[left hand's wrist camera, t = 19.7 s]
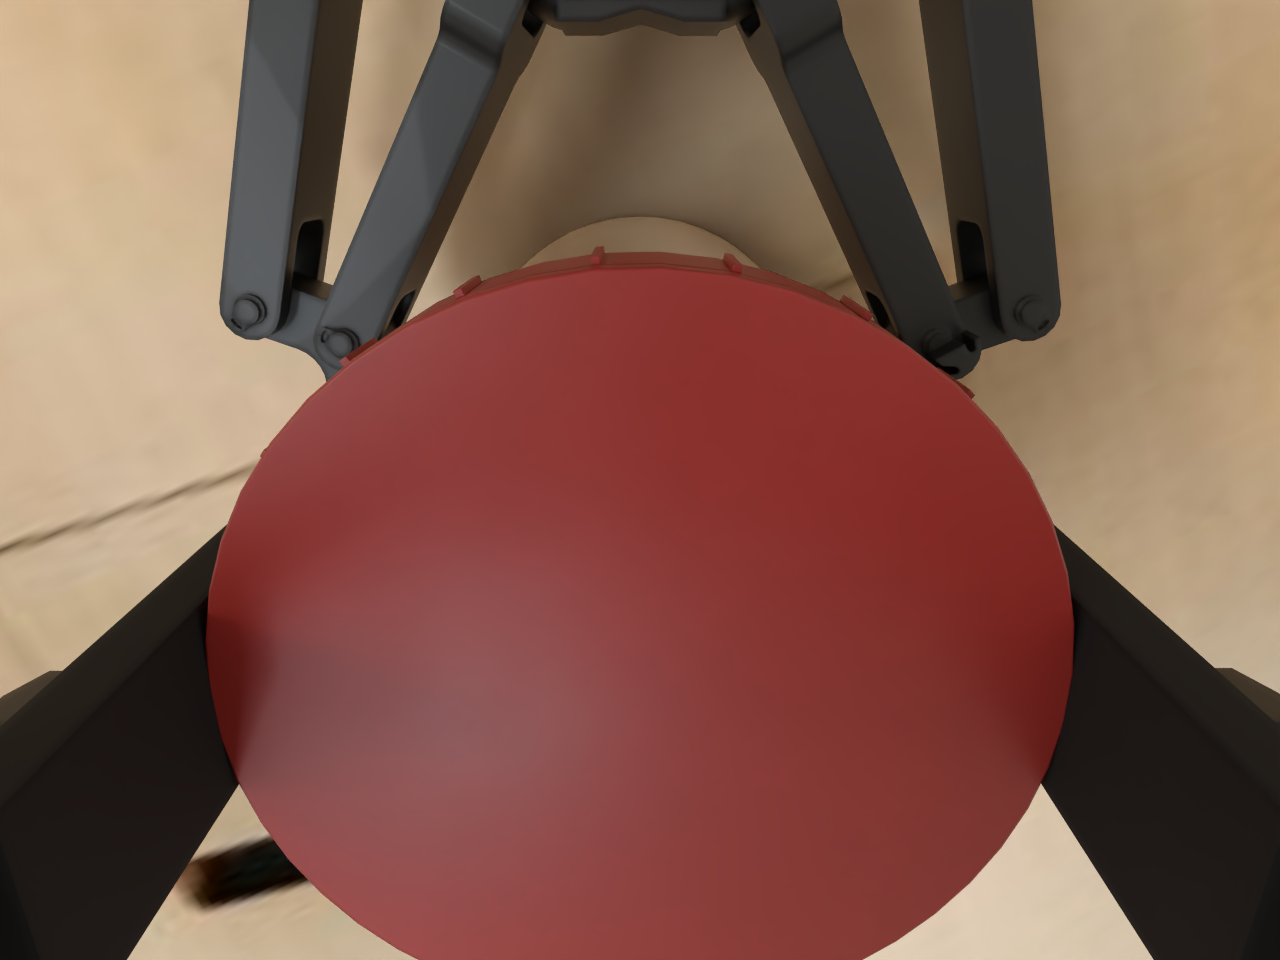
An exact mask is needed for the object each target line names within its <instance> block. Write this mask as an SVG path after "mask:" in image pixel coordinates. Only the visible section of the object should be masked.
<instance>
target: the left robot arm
mask: <svg viewBox="0 0 1280 960" xmlns="http://www.w3.org/2000/svg"><path fill="white" fill-rule="evenodd" d="M1053 525H1054V524H1053ZM226 526H227V525H226ZM226 526H225V527H224V528H223V529H221V530H220V531H219V532H218V533H217V534H216V535H215V536H214V537H212V538H211V539H210V540H209V541H208V542H207V543H206V544H205V545H203V546H202V547H201V548H200V549H199V550H198V551H197V552H196V553H194V554H193V555H192V556H191V557H190V558H189V559H188V560H187V561H186V562H184V563H183V564H182V565H181V566H180V567H179V568H178V569H177V570H175V571H174V572H173V573H172V574H171V575H170V576H169V577H168V578H166V579H165V580H164V581H163V582H162V583H161V584H160V585H159V586H157V587H156V588H155V589H154V590H153V591H152V592H151V593H150V594H148V595H147V596H146V597H145V598H144V599H143V600H142V601H141V602H140V603H138V604H137V605H136V606H135V607H134V608H133V609H132V610H131V611H129V612H128V613H127V614H126V615H125V616H124V617H123V618H122V619H120V620H119V621H118V622H117V623H116V624H115V625H114V626H113V627H111V628H110V629H109V630H108V631H107V632H106V633H105V634H104V635H102V636H101V637H100V638H99V639H98V640H97V641H96V642H95V643H93V644H92V645H91V646H90V647H89V648H88V649H87V650H86V651H85V652H83V653H82V654H81V655H80V656H79V657H78V658H77V659H76V660H74V661H73V662H72V663H71V664H70V665H69V666H68V667H67V668H65V669H64V670H63V671H49V672H47V673H45V674H43V675H41V676H39V677H38V678H36V679H34V680H32V681H30V682H28V683H26V684H25V685H23V686H21V687H19V688H17V689H15V690H13V691H12V692H10V693H8V694H6V695H4V696H3V697H1V698H0V960H127V959H128V957H129V955H130V954H131V952H132V951H133V949H134V948H135V946H136V945H137V943H138V941H139V940H140V938H141V937H142V935H143V934H144V932H145V930H146V929H147V927H148V926H149V924H150V923H151V921H152V919H153V918H154V916H155V915H156V913H157V912H158V910H159V909H160V907H161V905H162V904H163V902H164V901H165V899H166V898H167V896H168V894H169V893H170V891H171V890H172V888H173V887H174V885H175V883H176V882H177V880H178V879H179V877H180V876H181V874H182V873H183V871H184V869H185V868H186V866H187V865H188V863H189V862H190V860H191V858H192V857H193V855H194V854H195V852H196V851H197V849H198V847H199V846H200V844H201V843H202V841H203V840H204V838H205V837H206V835H207V833H208V832H209V830H210V829H211V827H212V826H213V824H214V822H215V821H216V819H217V818H218V816H219V815H220V813H221V811H222V810H223V808H224V807H225V805H226V804H227V802H228V801H229V799H230V797H231V796H232V794H233V793H234V791H235V790H236V788H237V786H238V785H239V783H238V781H237V778H236V775H235V773H234V770H233V768H232V765H231V763H230V760H229V758H228V755H227V753H226V750H225V748H224V745H223V742H222V739H221V734H220V729H219V725H218V720H217V715H216V711H215V706H214V701H213V697H212V692H211V687H210V681H209V676H208V669H207V656H206V644H205V639H206V625H207V611H208V598H209V588H210V584H211V580H212V576H213V571H214V567H215V563H216V559H217V554H218V550H219V546H220V542H221V539H222V536H223V534H224V531H225V529H226ZM1054 528H1055V531H1056V535H1057V538H1058V541H1059V545H1060V548H1061V552H1062V555H1063V558H1064V562H1065V565H1066V568H1067V572H1068V578H1069V586H1070V594H1071V601H1072V609H1073V617H1074V659H1073V676H1072V681H1071V686H1070V691H1069V696H1068V700H1067V705H1066V710H1065V715H1064V720H1063V725H1062V729H1061V733H1060V736H1059V739H1058V742H1057V745H1056V748H1055V751H1054V754H1053V757H1052V760H1051V763H1050V766H1049V768H1048V770H1047V772H1046V774H1045V776H1044V778H1043V780H1042V782H1041V784H1042V786H1043V787H1044V789H1045V790H1046V792H1047V793H1048V795H1049V797H1050V798H1051V800H1052V801H1053V803H1054V804H1055V806H1056V807H1057V809H1058V811H1059V812H1060V814H1061V815H1062V817H1063V818H1064V820H1065V822H1066V823H1067V825H1068V826H1069V828H1070V829H1071V831H1072V833H1073V834H1074V836H1075V837H1076V839H1077V840H1078V842H1079V843H1080V845H1081V847H1082V848H1083V850H1084V851H1085V853H1086V854H1087V856H1088V858H1089V859H1090V861H1091V862H1092V864H1093V865H1094V867H1095V869H1096V870H1097V872H1098V873H1099V875H1100V876H1101V878H1102V879H1103V881H1104V883H1105V884H1106V886H1107V887H1108V889H1109V890H1110V892H1111V894H1112V895H1113V897H1114V898H1115V900H1116V901H1117V903H1118V905H1119V906H1120V908H1121V909H1122V911H1123V912H1124V914H1125V915H1126V917H1127V919H1128V920H1129V922H1130V923H1131V925H1132V926H1133V928H1134V930H1135V931H1136V933H1137V934H1138V936H1139V937H1140V939H1141V941H1142V942H1143V944H1144V945H1145V947H1146V948H1147V950H1148V951H1149V953H1150V955H1151V956H1152V958H1153V959H1154V960H1280V694H1279V693H1277V692H1275V691H1274V690H1272V689H1270V688H1268V687H1266V686H1264V685H1262V684H1261V683H1259V682H1257V681H1255V680H1253V679H1251V678H1249V677H1247V676H1246V675H1244V674H1242V673H1240V672H1238V671H1236V670H1234V669H1232V668H1214V667H1213V666H1212V665H1211V664H1210V663H1208V662H1207V661H1206V660H1205V659H1204V658H1203V657H1202V656H1201V655H1199V654H1198V653H1197V652H1196V651H1195V650H1194V649H1193V648H1192V647H1190V646H1189V645H1188V644H1187V643H1186V642H1185V641H1184V640H1183V639H1182V638H1180V637H1179V636H1178V635H1177V634H1176V633H1175V632H1174V631H1173V630H1171V629H1170V628H1169V627H1168V626H1167V625H1166V624H1165V623H1164V622H1162V621H1161V620H1160V619H1159V618H1158V617H1157V616H1156V615H1155V614H1153V613H1152V612H1151V611H1150V610H1149V609H1148V608H1147V607H1146V606H1144V605H1143V604H1142V603H1141V602H1140V601H1139V600H1138V599H1137V598H1135V597H1134V596H1133V595H1132V594H1131V593H1130V592H1129V591H1128V590H1127V589H1125V588H1124V587H1123V586H1122V585H1121V584H1120V583H1119V582H1118V581H1116V580H1115V579H1114V578H1113V577H1112V576H1111V575H1110V574H1109V573H1107V572H1106V571H1105V570H1104V569H1103V568H1102V567H1101V566H1100V565H1098V564H1097V563H1096V562H1095V561H1094V560H1093V559H1092V558H1091V557H1089V556H1088V555H1087V554H1086V553H1085V552H1084V551H1083V550H1082V549H1080V548H1079V547H1078V546H1077V545H1076V544H1075V543H1074V542H1073V541H1071V540H1070V539H1069V538H1068V537H1067V536H1066V535H1065V534H1064V533H1063V532H1061V531H1060V530H1059V529H1058V528H1057V527H1056V526H1055V525H1054Z"/></svg>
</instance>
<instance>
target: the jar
mask: <svg viewBox="0 0 1280 960" xmlns="http://www.w3.org/2000/svg"><path fill="white" fill-rule="evenodd" d="M598 246H604V251H605V253H617V252H658V251H659V252H668V253H677V254H686V255H695V256H704V257H713V258H719V259H723V257H724V253H729V254H733V255H734V256H735V257H736V258H737V259H738V261H739V262H740V263H741V264H743V265H747V266H751V267H755V268H759V267H758V266H757V265H756V264H755V263H754V262H753V261H751V260H750V259H749V258H748V257H747V256H746V255H745V254H744V253H742V252H741V251H740V250H739V249H737V248H736V247H734V246H733V245H731V244H730V243H728V242H727V241H725V240H724V239H722V238H721V237H719V236H717V235H715V234H712V233H710V232H708V231H706V230H704V229H702V228H699V227H696V226H693V225H690V224H687V223H684V222H681V221H676V220H670V219H665V218H659V217H638V216H635V217H624V218H614V219H609V220H605V221H601V222H597V223H593V224H590V225H587V226H585V227H582V228H579V229H577V230H574V231H572V232H570V233H568V234H566V235H564V236H562V237H561V238H559V239H557V240H555V241H553V242H552V243H550V244H549V245H548V246H546V247H545V248H544V249H542V250H541V251H540V252H538V253H537V254H536V255H534V256H533V257H532V258H531V259H530V260H529V261H528V262H527V263H526V264H525V265H524V266H522V267H521V268H520V269H522V268H525V267H529V266H532V265H535V264H538V263H542V262H547V261H553V260H559V259H565V258H572V257H578V256H584V255H590V254H592V252H593V250H594V248H595V247H598ZM759 269H760V268H759Z"/></svg>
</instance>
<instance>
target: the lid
mask: <svg viewBox="0 0 1280 960" xmlns="http://www.w3.org/2000/svg"><path fill="white" fill-rule="evenodd" d="M453 293H454V295H452V296H450V297H448V298H446V299H443V300H441V301H439V302H437V303H435V304H434V305H432V306H431V307H429V308H428V309H426V310H425V311H423V312H422V313H420V314H418V315H417V316H415V317H414V318H412V319H411V320H409V321H408V322H406V323H405V324H403V325H401V326H400V327H398V328H397V329H395V330H394V331H392V332H391V333H389V334H388V335H386V336H385V337H384V338H382V339H381V340H379V341H377V340H376V339H375V338H372V339H370V340H369V341H367V342H366V343H364V344H363V345H362V346H360V347H359V348H357V349H356V350H354V351H353V352H351V353H350V354H348V355H347V356H345V357H344V358H343V359H342V360H340V363H341V364H342V366H343V368H342V369H341V370H340V371H339V372H337V373H336V374H335V375H334V376H333V377H332V378H331V379H330V380H328V381H327V382H326V383H325V384H324V385H323V386H322V387H320V388H319V389H318V390H317V391H316V392H315V393H314V394H312V395H311V396H310V397H309V398H308V399H307V400H306V401H305V402H304V403H303V405H302V406H301V407H300V408H299V409H298V411H297V412H296V413H295V414H294V415H293V417H292V418H291V419H290V420H289V421H288V422H287V424H286V425H285V426H284V427H283V428H282V430H281V431H280V432H279V433H278V434H277V435H276V437H275V438H274V439H273V440H272V441H271V443H270V444H269V446H268V447H267V448H266V449H264V450H263V452H262V454H261V455H260V457H261V459H260V460H259V462H258V464H257V465H256V467H255V469H254V470H253V472H252V474H251V475H250V477H249V479H248V480H247V482H246V483H245V485H244V487H243V488H242V490H241V492H240V495H239V497H238V500H237V502H236V504H235V507H234V509H233V512H232V514H231V517H230V519H229V521H228V524H227V526H226V529H225V531H224V534H223V536H222V539H221V542H220V546H219V550H218V554H217V559H216V563H215V567H214V571H213V576H212V580H211V584H210V588H209V598H208V611H207V625H206V639H205V644H206V656H207V669H208V676H209V681H210V687H211V692H212V697H213V701H214V706H215V711H216V715H217V720H218V725H219V729H220V734H221V739H222V742H223V745H224V748H225V750H226V753H227V755H228V758H229V760H230V763H231V765H232V768H233V770H234V773H235V775H236V778H237V781H238V783H239V784H240V786H241V788H242V790H243V791H244V793H245V795H246V797H247V798H248V800H249V802H250V804H251V806H252V807H253V809H254V811H255V813H256V814H257V816H258V818H259V820H260V821H261V823H262V824H263V826H264V827H265V828H266V830H267V831H268V832H269V834H270V835H271V836H272V838H273V839H274V840H275V842H276V843H277V844H278V846H279V847H280V848H281V850H282V851H283V852H284V854H285V855H286V856H287V858H288V859H289V860H290V861H291V862H292V863H293V864H294V865H295V866H296V867H297V869H298V870H299V871H300V872H301V873H302V874H303V875H304V876H305V877H306V878H307V879H308V880H309V881H310V882H311V883H312V884H313V885H314V886H315V887H316V888H317V889H318V890H319V891H320V892H321V893H322V894H323V895H324V896H325V897H326V898H328V899H329V900H330V901H331V902H333V903H334V904H335V905H336V906H337V907H339V908H340V909H341V910H342V911H344V912H345V913H346V914H347V915H348V916H350V917H351V918H352V919H353V920H355V921H356V922H357V923H358V924H360V925H361V926H363V927H364V928H366V929H367V930H369V931H370V932H372V933H374V934H375V935H377V936H378V937H380V938H381V939H383V940H384V941H386V942H387V943H389V944H391V945H392V946H394V947H395V948H397V949H398V950H400V951H402V952H404V953H406V954H408V955H410V956H412V957H414V958H416V959H418V960H863V959H865V958H867V957H869V956H870V955H872V954H874V953H876V952H878V951H879V950H881V949H883V948H885V947H887V946H888V945H890V944H892V943H894V942H896V941H897V940H899V939H900V938H902V937H903V936H904V935H906V934H907V933H909V932H910V931H911V930H913V929H914V928H916V927H917V926H919V925H920V924H921V923H923V922H924V921H926V920H927V919H929V918H930V917H931V916H933V915H934V914H935V913H937V912H938V911H939V910H940V909H941V908H942V907H943V906H945V905H946V904H947V903H948V902H949V901H950V900H951V899H952V898H954V897H955V896H956V895H957V894H958V893H959V892H960V891H961V890H963V889H964V888H965V887H966V886H967V885H968V884H969V883H970V882H971V881H972V880H973V879H974V878H975V877H976V876H977V874H978V873H979V872H980V871H981V870H982V869H983V868H984V867H985V865H986V864H987V863H988V862H989V861H990V860H991V859H992V858H993V856H994V855H995V854H996V853H997V852H998V851H999V850H1000V849H1001V847H1002V846H1003V844H1004V843H1005V841H1006V840H1007V839H1008V837H1009V836H1010V834H1011V833H1012V831H1013V830H1014V828H1015V827H1016V825H1017V824H1018V822H1019V821H1020V820H1021V818H1022V817H1023V815H1024V814H1025V812H1026V811H1027V809H1028V808H1029V806H1030V804H1031V802H1032V800H1033V798H1034V796H1035V794H1036V792H1037V790H1038V788H1039V786H1040V784H1041V782H1042V780H1043V778H1044V776H1045V774H1046V772H1047V770H1048V768H1049V766H1050V763H1051V760H1052V757H1053V754H1054V751H1055V748H1056V745H1057V742H1058V739H1059V736H1060V733H1061V729H1062V725H1063V720H1064V715H1065V710H1066V705H1067V700H1068V696H1069V691H1070V686H1071V681H1072V676H1073V659H1074V617H1073V609H1072V601H1071V594H1070V586H1069V578H1068V572H1067V568H1066V565H1065V562H1064V558H1063V555H1062V552H1061V548H1060V545H1059V541H1058V538H1057V535H1056V531H1055V528H1054V525H1053V522H1052V520H1051V517H1050V515H1049V513H1048V511H1047V509H1046V507H1045V505H1044V503H1043V501H1042V499H1041V497H1040V495H1039V492H1038V490H1037V488H1036V486H1035V484H1034V482H1033V480H1032V478H1031V476H1030V474H1029V472H1028V471H1027V469H1026V468H1025V466H1024V465H1023V463H1022V462H1021V461H1020V459H1019V458H1018V456H1017V455H1016V453H1015V452H1014V450H1013V449H1012V447H1011V446H1010V445H1009V443H1008V442H1007V440H1006V439H1005V437H1004V436H1003V434H1002V433H1001V431H1000V430H999V429H998V427H997V426H996V425H995V424H994V423H993V422H992V421H991V420H990V419H989V418H988V416H987V415H986V414H985V413H984V412H983V411H982V410H981V409H980V408H979V407H978V406H977V405H976V404H975V403H974V402H973V401H972V398H973V397H974V396H975V395H974V393H973V392H972V391H971V390H970V389H968V388H967V387H966V386H964V385H963V384H961V383H960V382H958V381H957V380H956V379H954V378H953V377H951V376H950V375H949V374H947V373H946V372H944V371H943V370H941V369H940V368H936V367H935V366H933V365H932V364H931V363H930V362H928V361H927V360H926V359H924V358H923V357H922V356H921V355H919V354H918V353H917V352H916V351H914V350H913V349H912V348H910V347H909V346H908V345H906V344H905V343H904V342H902V341H901V340H899V339H898V338H896V337H895V336H894V335H892V334H891V333H889V332H888V331H887V330H885V329H884V328H882V327H881V326H879V325H878V324H877V323H875V322H874V321H872V320H871V318H872V316H873V314H872V313H871V312H869V311H868V310H866V309H865V308H863V307H862V306H860V305H859V304H857V303H856V302H854V301H853V300H851V299H850V298H848V297H846V296H843V297H842V298H841V300H840V302H839V301H838V300H836V299H834V298H832V297H831V296H829V295H827V294H826V293H823V292H821V291H818V290H816V289H813V288H811V287H808V286H806V285H804V284H801V283H799V282H796V281H794V280H791V279H789V278H786V277H784V276H781V275H779V274H776V273H774V272H771V271H767V270H763V269H759V268H755V267H751V266H747V265H743V264H741V263H740V262H739V261H738V259H737V258H736V257H735V256H734V255H733V254H729V253H724V257H723V259H719V258H713V257H704V256H695V255H686V254H677V253H668V252H659V251H658V252H617V253H605V251H604V246H598V247H595V248H594V250H593V252H592V254H590V255H584V256H578V257H572V258H565V259H559V260H553V261H547V262H542V263H538V264H535V265H532V266H529V267H525V268H522V269H519V270H515V271H512V272H509V273H506V274H502V275H499V276H496V277H492V278H489V279H487V280H484V281H482V280H481V278H480V276H479V275H478V276H476V277H473V278H471V279H470V280H468V281H467V282H466V283H464V284H463V285H461V286H460V287H459V288H457V289H456V290H454V291H453Z"/></svg>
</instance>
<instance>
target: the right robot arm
mask: <svg viewBox="0 0 1280 960" xmlns="http://www.w3.org/2000/svg"><path fill="white" fill-rule="evenodd" d="M362 2H363V0H249V10H248V20H247V30H246V40H245V50H244V60H243V71H242V81H241V91H240V101H239V111H238V121H237V131H236V141H235V151H234V161H233V171H232V181H231V191H230V201H229V211H228V221H227V231H226V241H225V251H224V261H223V271H222V282H221V292H220V302H219V304H220V314H221V316H222V318H223V320H224V322H225V324H226V326H227V327H228V328H229V329H230V330H231V331H232V332H233V333H234V334H236V335H238V336H240V337H242V338H244V339H249V340H259V339H262V338H268V339H271V340H273V341H276V342H279V343H282V344H285V345H288V346H291V347H294V348H297V349H299V350H301V351H303V352H305V353H307V354H308V355H310V356H311V357H312V358H313V359H315V361H316V362H317V363H318V364H319V365H320V367H321V369H322V370H323V372H324V374H325V378H326V382H327V381H328V380H330V379H331V378H332V377H333V376H334V375H335V374H336V373H337V372H339V371H340V370H341V369H342V368H343V366H342V364H341V363H340V360H342V359H343V358H344V357H345V356H347V355H348V354H350V353H351V352H353V351H354V350H356V349H357V348H359V347H360V346H362V345H363V344H364V343H366V342H367V341H369V340H370V339H372V338H375V339H376V340H377V341H379V340H381V339H382V338H384V337H385V336H386V335H388V334H389V333H391V332H392V331H394V330H395V329H397V328H398V327H400V326H401V325H403V324H405V323H406V321H407V319H408V316H409V314H410V312H411V310H412V308H413V305H414V303H415V301H416V299H417V297H418V295H419V292H420V290H421V288H422V286H423V284H424V281H425V279H426V277H427V275H428V273H429V271H430V268H431V266H432V264H433V262H434V260H435V257H436V255H437V253H438V251H439V249H440V246H441V244H442V242H443V240H444V238H445V236H446V233H447V231H448V229H449V227H450V225H451V222H452V220H453V218H454V216H455V214H456V212H457V209H458V207H459V205H460V203H461V201H462V198H463V196H464V194H465V192H466V190H467V188H468V185H469V183H470V181H471V179H472V177H473V174H474V172H475V170H476V168H477V166H478V164H479V161H480V159H481V157H482V155H483V153H484V150H485V148H486V146H487V144H488V142H489V139H490V137H491V135H492V133H493V131H494V129H495V126H496V124H497V122H498V120H499V118H500V115H501V113H502V111H503V109H504V107H505V105H506V102H507V100H508V98H509V96H510V94H511V91H512V89H513V87H514V85H515V83H516V81H517V79H518V78H519V76H520V75H521V74H522V72H523V71H524V70H525V68H526V66H527V64H528V63H529V61H530V59H531V57H532V54H533V52H534V50H535V48H536V46H537V44H538V41H539V39H540V37H541V35H542V33H543V31H544V28H545V26H546V24H548V25H550V26H552V27H554V28H558V29H561V30H563V32H564V34H565V35H566V36H603V35H607V34H610V33H613V32H617V31H620V30H623V29H627V28H630V27H633V26H637V25H646V26H649V27H652V28H656V29H659V30H662V31H666V32H669V33H672V34H676V35H679V36H717V35H718V33H719V31H720V30H723V29H726V28H729V27H731V26H733V25H735V24H736V26H737V28H738V30H739V32H740V35H741V37H742V39H743V41H744V43H745V46H746V48H747V50H748V52H749V54H750V56H751V59H752V61H753V63H754V65H755V66H756V68H757V70H758V71H759V73H760V74H761V75H762V77H763V78H764V80H765V81H766V83H767V85H768V87H769V89H770V92H771V94H772V96H773V98H774V101H775V103H776V105H777V107H778V109H779V112H780V114H781V116H782V118H783V120H784V123H785V125H786V127H787V129H788V131H789V134H790V136H791V138H792V140H793V142H794V145H795V147H796V149H797V151H798V153H799V156H800V158H801V160H802V162H803V164H804V167H805V169H806V171H807V173H808V176H809V178H810V180H811V182H812V184H813V187H814V189H815V191H816V193H817V195H818V198H819V200H820V202H821V204H822V206H823V209H824V211H825V213H826V215H827V217H828V220H829V222H830V224H831V226H832V228H833V231H834V233H835V235H836V237H837V240H838V242H839V244H840V246H841V248H842V251H843V253H844V255H845V257H846V259H847V262H848V264H849V266H850V268H851V270H852V273H853V275H854V277H855V279H856V281H857V284H858V286H859V288H860V290H861V292H862V295H863V297H864V299H865V301H866V303H867V306H868V308H869V310H870V312H871V313H872V314H873V316H872V317H873V319H874V321H875V323H877V324H878V325H879V326H881V327H882V328H884V329H885V330H887V331H888V332H889V333H891V334H892V335H894V336H895V337H896V338H898V339H899V340H901V341H902V342H904V343H905V344H906V345H908V346H909V347H910V348H912V349H913V350H914V351H916V352H917V353H918V354H919V355H921V356H922V357H923V358H924V359H926V360H927V361H928V362H930V363H931V364H932V365H933V366H935V367H936V368H940V369H941V370H943V371H944V372H946V373H947V374H949V375H950V376H951V377H953V378H954V379H956V380H957V379H960V378H963V377H964V376H966V375H967V374H968V373H970V372H971V371H972V370H973V369H974V367H975V366H976V364H977V363H978V361H979V359H980V355H981V350H984V349H987V348H990V347H992V346H995V345H998V344H1001V343H1004V342H1007V341H1010V340H1013V339H1018V340H1020V341H1034V340H1036V339H1038V338H1041V337H1043V336H1045V335H1046V334H1047V333H1048V332H1049V331H1050V330H1051V329H1052V328H1053V327H1054V326H1055V324H1056V322H1057V320H1058V318H1059V316H1060V308H1061V300H1060V290H1059V279H1058V269H1057V258H1056V248H1055V237H1054V227H1053V216H1052V206H1051V195H1050V185H1049V174H1048V164H1047V153H1046V143H1045V132H1044V122H1043V111H1042V101H1041V90H1040V80H1039V69H1038V59H1037V48H1036V38H1035V27H1034V17H1033V6H1032V0H919V5H920V12H921V19H922V27H923V34H924V41H925V49H926V56H927V63H928V71H929V78H930V85H931V93H932V100H933V107H934V115H935V122H936V129H937V137H938V144H939V151H940V159H941V166H942V173H943V181H944V188H945V195H946V203H947V210H948V217H949V225H950V232H951V239H952V247H953V254H954V261H955V269H956V276H957V283H956V284H953V285H950V286H948V285H947V283H946V280H945V278H944V275H943V273H942V271H941V268H940V266H939V263H938V261H937V259H936V256H935V254H934V251H933V249H932V247H931V244H930V242H929V239H928V237H927V235H926V232H925V230H924V227H923V225H922V223H921V220H920V218H919V215H918V213H917V211H916V208H915V206H914V203H913V201H912V199H911V196H910V194H909V191H908V189H907V187H906V184H905V182H904V179H903V177H902V175H901V172H900V170H899V167H898V165H897V163H896V160H895V158H894V155H893V153H892V151H891V148H890V146H889V143H888V141H887V139H886V136H885V134H884V132H883V129H882V127H881V124H880V122H879V120H878V117H877V115H876V112H875V110H874V108H873V105H872V103H871V100H870V98H869V96H868V93H867V91H866V88H865V86H864V84H863V81H862V79H861V76H860V74H859V72H858V69H857V67H856V64H855V62H854V60H853V57H852V55H851V52H850V50H849V48H848V45H847V43H846V40H845V37H844V34H843V28H842V17H841V13H840V9H839V6H838V3H837V0H446V1H445V4H444V6H443V10H442V14H441V20H440V30H439V34H438V37H437V40H436V43H435V45H434V48H433V50H432V52H431V55H430V57H429V59H428V62H427V64H426V67H425V69H424V71H423V74H422V76H421V78H420V81H419V83H418V86H417V88H416V90H415V93H414V95H413V97H412V100H411V102H410V104H409V107H408V109H407V112H406V114H405V116H404V119H403V121H402V123H401V126H400V128H399V131H398V133H397V135H396V138H395V140H394V142H393V145H392V147H391V150H390V152H389V154H388V157H387V159H386V161H385V164H384V166H383V169H382V171H381V173H380V176H379V178H378V180H377V183H376V185H375V187H374V190H373V192H372V195H371V197H370V199H369V202H368V204H367V206H366V209H365V211H364V214H363V216H362V218H361V221H360V223H359V225H358V228H357V230H356V233H355V235H354V237H353V240H352V242H351V244H350V247H349V249H348V252H347V254H346V256H345V259H344V261H343V263H342V266H341V268H340V270H339V273H338V275H337V278H336V280H335V282H334V285H330V284H328V283H325V282H323V280H324V272H325V265H326V258H327V251H328V244H329V237H330V230H331V223H332V216H333V209H334V201H335V194H336V187H337V180H338V173H339V166H340V159H341V152H342V145H343V137H344V130H345V123H346V116H347V109H348V102H349V95H350V88H351V81H352V73H353V66H354V59H355V52H356V45H357V38H358V31H359V24H360V17H361V10H362Z"/></svg>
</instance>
